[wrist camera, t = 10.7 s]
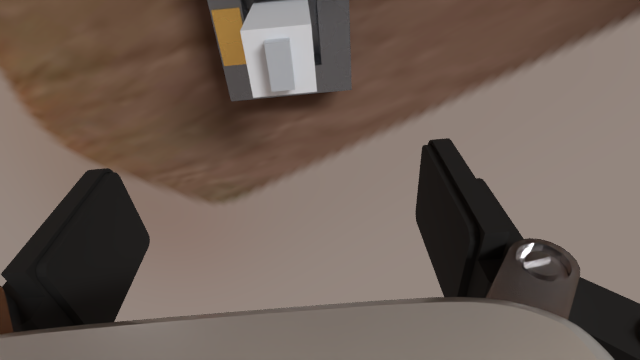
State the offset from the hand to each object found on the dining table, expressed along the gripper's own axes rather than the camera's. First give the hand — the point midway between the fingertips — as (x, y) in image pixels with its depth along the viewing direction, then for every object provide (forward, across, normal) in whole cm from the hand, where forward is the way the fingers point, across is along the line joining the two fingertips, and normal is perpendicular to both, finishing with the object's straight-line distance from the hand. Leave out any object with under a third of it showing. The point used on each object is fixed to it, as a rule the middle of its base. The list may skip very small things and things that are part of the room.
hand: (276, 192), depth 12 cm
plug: (+23, +1, 0) cm, 23 cm away
